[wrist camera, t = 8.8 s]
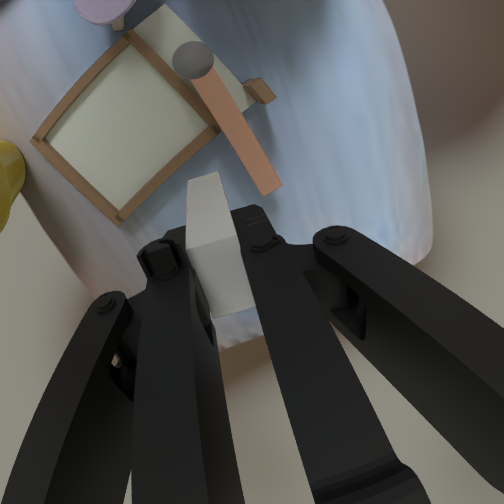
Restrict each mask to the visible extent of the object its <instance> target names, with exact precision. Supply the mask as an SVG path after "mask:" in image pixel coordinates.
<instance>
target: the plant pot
mask: <svg viewBox="0 0 504 504" xmlns="http://www.w3.org/2000/svg"><path fill="white" fill-rule="evenodd" d="M25 176H26V168H25V162H24V158H23V156H22V154H21V152H20V151H19V149H18V148H17V147H16V146H15V145H14V144H12V143H11V142H8V141H4V140H0V232H1V231H2V230H3V228H4V227H5V225H6V223H7V220H8V217H9V214H10V209H11V205H12V203H13V202H14V200H15V198H16V197H17V195H18V194H19V192H20V190H21V189H22V187H23V184H24V181H25Z"/></svg>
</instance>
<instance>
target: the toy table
mask: <svg viewBox="0 0 504 504" xmlns="http://www.w3.org/2000/svg"><path fill="white" fill-rule="evenodd" d="M73 2H74V5H75V8H76V10H77V11H78V13H79V14H80V15H81V17H82V18H84V19H85V20H87V21H88V22H90V23H93V24H96V25H107V24H110V23H112V28H113V30H114V31H119V30H123V29H124V24H125V23H124V22H125V14H126V13H127V12H128V11H129V10H130V9H131V7H132V6H133V5H134V3H135V2H136V0H73Z"/></svg>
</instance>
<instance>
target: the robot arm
mask: <svg viewBox="0 0 504 504" xmlns="http://www.w3.org/2000/svg"><path fill="white" fill-rule="evenodd" d="M137 258H138V261H139V263H140V265H141V267H142V269H143V271H144V273H145V275H146V277H147V285H146V289H145V290H144V291H142V292H140V293H139V294H137V295H135V296H133V297H131V298H129V299H127V298H126V296H125V294H124V293H122V292H121V291H111V292H107V293H104V294H102V295H101V296H99V297H98V298H97V299H96V300H95V301H94V302H93V303H92V304H91V305H90V307H89V308H88V310H87V312H86V314H85V315H84V317H83V319H82V320H81V322H80V324H79V326H78V328H77V329H76V331H75V333H74V335H73V337H72V338H71V340H70V342H69V344H68V346H67V348H66V350H65V351H64V354H63V356H62V357H61V359H60V361H59V363H58V365H57V367H56V369H55V371H54V373H53V375H52V377H51V379H50V381H49V383H48V385H47V387H46V389H45V392H44V394H43V396H42V398H41V400H40V403H39V405H38V407H37V409H36V411H35V413H34V416H33V418H32V421H31V423H30V425H29V427H28V430H27V432H26V435H25V437H24V440H23V442H22V445H21V447H20V450H19V452H18V455H17V458H16V460H15V463H14V466H13V468H12V471H11V474H10V477H9V480H8V483H7V486H6V489H5V493H4V496H3V499H2V502H1V504H123V502H124V497H125V493H126V489H127V484H128V480H129V476H130V472H131V474H132V475H131V480H132V482H131V483H132V504H245V501H244V496H243V491H242V486H241V482H240V476H239V471H238V466H237V461H236V455H235V451H234V445H233V439H232V434H231V428H230V422H229V417H228V410H227V404H226V398H225V392H224V386H223V379H222V373H221V366H220V360H219V353H218V346H217V339H216V331H215V328H214V325H213V323H212V321H211V318H210V312H211V314H212V316H213V319H214V318H217V317H221V316H224V315H228V314H232V313H235V312H239V311H242V310H246V309H249V308H253V307H256V309H257V312H258V315H259V319H260V322H261V326H262V329H263V333H264V336H265V339H266V343H267V346H268V350H269V353H270V356H271V360H272V363H273V366H274V369H275V373H276V377H277V380H278V383H279V386H280V390H281V393H282V397H283V400H284V403H285V407H286V410H287V413H288V417H289V419H290V423H291V427H292V430H293V433H294V436H295V440H296V443H297V446H298V450H299V453H300V456H301V459H302V463H303V466H304V469H305V472H306V476H307V479H308V482H309V485H310V488H311V492H312V494H313V498H314V501H315V504H431V502H430V500H429V498H428V495H427V494H426V491H425V489H424V487H423V485H422V483H421V482H420V480H419V478H418V476H417V475H416V474H415V473H414V471H413V470H412V469H411V468H410V467H408V466H407V465H405V464H403V463H401V462H400V460H399V459H398V458H397V456H396V454H395V452H394V450H393V448H392V446H391V444H390V442H389V440H388V438H387V436H386V433H385V431H384V429H383V427H382V425H381V423H380V421H379V419H378V417H377V415H376V413H375V411H374V409H373V407H372V405H371V403H370V401H369V398H368V396H367V395H366V392H365V390H364V389H363V386H362V384H361V383H360V381H359V378H358V377H357V375H356V373H355V371H354V369H353V367H352V365H351V363H350V361H349V359H348V357H347V355H346V353H345V351H344V349H343V347H342V345H341V344H340V341H339V340H338V338H337V336H336V334H335V332H334V330H333V328H332V326H331V324H330V322H331V323H332V324H333V325H334V326H335V327H336V328H337V329H338V330H339V331H340V332H341V333H342V334H343V335H344V336H345V337H346V338H347V339H348V340H349V341H350V342H351V343H352V344H353V345H354V346H355V347H356V348H357V349H358V351H359V352H360V353H361V354H362V355H364V357H365V358H366V359H367V360H368V361H370V363H371V364H372V365H373V366H374V367H375V368H376V369H377V370H378V371H379V372H380V373H381V374H382V375H383V376H384V377H385V378H386V379H387V380H388V381H389V382H390V383H391V384H392V385H393V386H394V387H395V388H396V389H397V390H398V391H399V392H400V393H401V394H402V395H403V396H404V397H405V398H406V399H407V400H408V401H409V402H410V403H411V404H412V405H413V406H414V407H415V408H416V410H417V411H419V413H420V414H421V415H423V416H424V418H425V419H426V420H427V421H428V422H429V423H430V424H431V425H432V426H433V427H434V428H435V429H436V430H437V431H438V432H439V433H440V434H441V435H442V436H443V437H444V438H445V439H446V440H447V441H448V442H449V443H450V444H451V445H452V446H453V448H454V449H455V450H456V451H458V453H459V454H460V455H461V456H462V457H463V458H464V459H465V460H466V461H467V462H468V463H469V464H470V465H471V466H472V467H473V468H474V469H475V470H476V471H477V472H478V473H479V474H480V475H481V476H482V477H483V478H484V479H485V480H486V481H487V482H488V483H490V484H491V485H492V486H493V487H494V488H496V489H497V490H499V491H501V492H502V493H503V494H504V328H502V327H501V326H500V325H498V324H497V323H495V322H494V321H493V320H492V319H490V318H489V317H487V316H486V315H485V314H483V313H482V312H480V311H479V310H478V309H476V308H475V307H474V306H472V305H471V304H469V303H468V302H466V301H465V300H463V299H462V298H461V297H459V296H458V295H456V294H455V293H453V292H452V291H451V290H449V289H447V288H446V287H444V286H443V285H441V284H440V283H439V282H437V281H436V280H434V279H432V278H431V277H430V276H428V275H426V274H425V273H423V272H422V271H420V270H419V269H417V268H416V267H414V266H413V265H411V264H410V263H408V262H406V261H405V260H403V259H402V258H400V257H399V256H397V255H395V254H394V253H392V252H391V251H389V250H387V249H386V248H384V247H382V246H381V245H379V244H378V243H376V242H374V241H373V240H371V239H369V238H368V237H366V236H364V235H363V234H361V233H359V232H358V231H356V230H354V229H352V228H349V227H346V226H329V227H327V228H324V229H321V230H320V231H318V232H317V233H316V234H315V235H314V236H313V244H306V245H292V244H288V243H286V241H285V239H284V238H283V237H282V236H280V235H277V234H276V232H275V230H274V228H273V227H272V225H271V223H270V221H269V220H268V217H267V216H266V214H265V212H264V210H263V208H262V207H259V206H257V205H255V204H253V205H250V206H246V207H243V208H239V209H235V210H232V211H230V210H229V207H228V204H227V200H226V197H225V193H224V190H223V187H222V183H221V180H220V176H219V173H218V171H217V172H214V173H210V174H207V175H204V176H200V177H197V178H194V179H190V180H187V200H186V225H185V226H181V227H178V228H175V229H172V230H169V231H167V232H166V234H165V235H164V236H163V238H161V239H158V240H155V241H153V242H151V243H149V244H147V245H146V246H144V247H143V248H142V249H141V250H140V251H139V253H138V254H137ZM209 309H210V310H209ZM329 321H330V322H329ZM114 355H115V356H116V357H117V359H118V363H117V365H116V366H115V367H114V366H113V365H112V363H111V362H112V360H113V357H114Z"/></svg>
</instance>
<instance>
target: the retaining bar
mask: <svg viewBox="0 0 504 504" xmlns="http://www.w3.org/2000/svg"><path fill="white" fill-rule="evenodd" d="M213 63H214V55H213V52H212V50H211V49H210V48H209V47H208V46H207V45H206V44H204V43H202V42H199V41H190V42H186V43H184V44H182V45H181V46H179V47H178V48H177V49H176V51H175V52H174V54H173V58H172V65H173V68H174V70H175V72H176V73H177V74H178V75H179V76H181V77H182V78H184V79H188V80H191V82H192V83H193V85H194V87H195V88H196V90H197V91H198V93H199V94H200V96H201V97H202V99H203V101H204V102H205V104H206V105H207V107H208V108H209V110H210V112H211V113H212V115H213V116H214V118H215V119H216V121H217V123H218V124H219V126H220V127H221V129H222V131H223V132H224V134H225V135H226V137H227V139H228V140H229V142H230V143H231V145H232V147H233V148H234V150H235V152H236V153H237V155H238V156H239V158H240V160H241V161H242V163H243V165H244V166H245V168H246V170H247V171H248V173H249V174H250V176H251V178H252V179H253V181H254V183H255V184H256V186H257V188H258V189H259V191H260V193H261V194H262V196H265V195H267V194H268V193H270V192H272V191H273V190H275V189H277V188H279V187H280V186H282V185H283V184H282V183H281V181H280V179H279V177H278V175H277V174H276V172H275V170H274V168H273V167H272V165H271V163H270V161H269V159H268V158H267V156H266V154H265V152H264V151H263V149H262V147H261V145H260V144H259V142H258V140H257V139H256V137H255V135H254V133H253V132H252V130H251V128H250V127H249V125H248V123H247V121H246V120H245V118H244V116H243V115H242V113H241V111H240V110H239V108H238V106H237V105H236V103H235V102H234V100H233V98H232V97H231V95H230V93H229V92H228V90H227V88H226V87H225V85H224V84H223V82H222V80H221V79H220V77H219V76H218V74H217V72H216V71H215V69H214V68H213Z"/></svg>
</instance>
